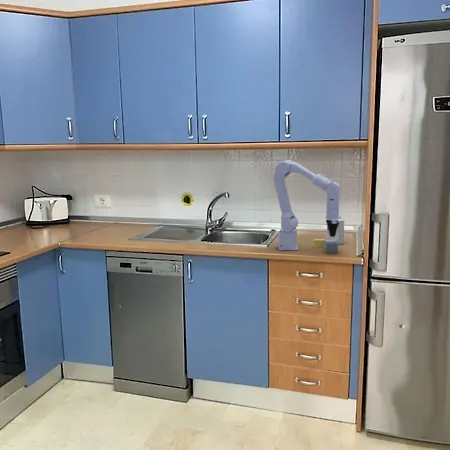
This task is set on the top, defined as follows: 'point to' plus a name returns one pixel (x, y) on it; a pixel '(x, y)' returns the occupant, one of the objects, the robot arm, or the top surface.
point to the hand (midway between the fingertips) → (332, 235)
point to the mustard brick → (318, 243)
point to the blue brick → (329, 242)
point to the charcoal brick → (331, 248)
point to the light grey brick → (332, 237)
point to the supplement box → (340, 231)
